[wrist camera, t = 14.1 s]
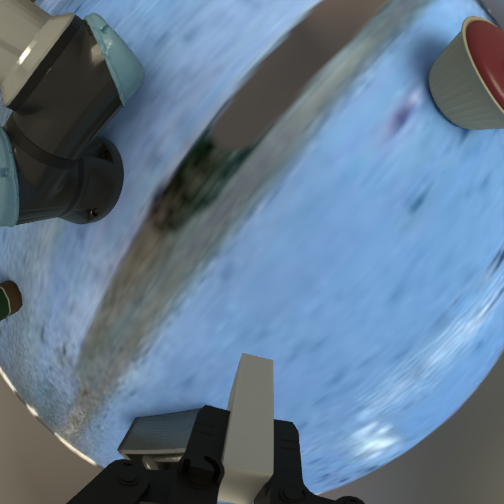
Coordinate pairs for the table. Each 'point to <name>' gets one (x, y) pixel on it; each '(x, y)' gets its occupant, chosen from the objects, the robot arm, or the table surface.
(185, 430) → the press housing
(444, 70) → the canister
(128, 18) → the table surface
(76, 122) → the robot arm
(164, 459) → the plunger
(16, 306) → the beer bottle
